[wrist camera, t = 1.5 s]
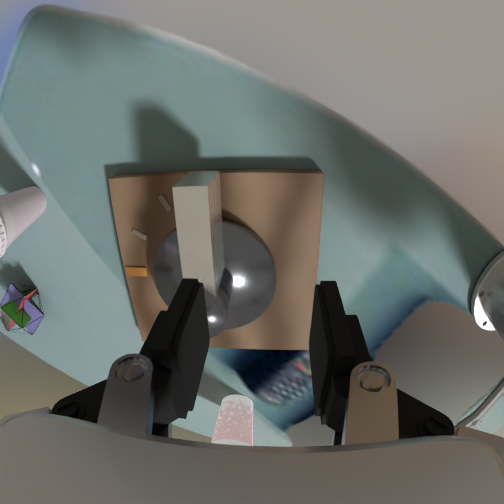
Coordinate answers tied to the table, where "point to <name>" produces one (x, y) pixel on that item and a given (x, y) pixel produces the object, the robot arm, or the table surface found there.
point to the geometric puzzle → (20, 310)
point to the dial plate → (247, 213)
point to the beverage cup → (234, 421)
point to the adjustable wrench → (483, 409)
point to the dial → (214, 256)
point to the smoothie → (19, 213)
